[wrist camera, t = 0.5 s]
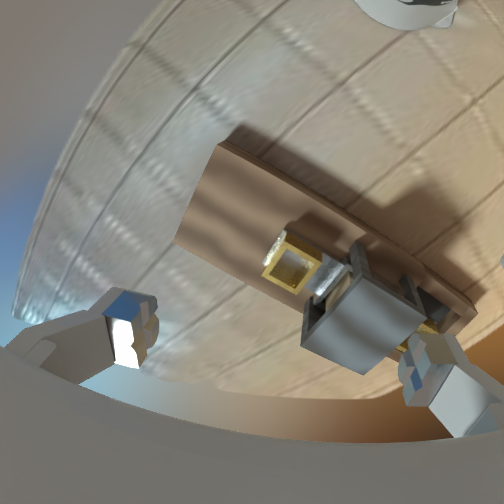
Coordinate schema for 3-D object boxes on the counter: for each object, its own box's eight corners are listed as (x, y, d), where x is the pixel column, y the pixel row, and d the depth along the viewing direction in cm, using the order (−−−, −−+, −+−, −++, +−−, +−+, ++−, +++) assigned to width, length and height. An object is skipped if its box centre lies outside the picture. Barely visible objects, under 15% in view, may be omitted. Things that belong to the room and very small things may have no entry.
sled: (288, 220, 44) (285, 232, 41) (438, 314, 47) (445, 330, 43) (259, 264, 49) (254, 279, 45) (406, 345, 51) (410, 361, 47)
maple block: (347, 264, 46) (350, 287, 41) (390, 291, 47) (396, 314, 41) (325, 291, 49) (325, 315, 44) (367, 315, 50) (371, 339, 45)
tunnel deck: (224, 140, 44) (189, 159, 32) (471, 300, 49) (496, 350, 36) (181, 231, 54) (144, 274, 42) (412, 357, 58) (423, 408, 46)
